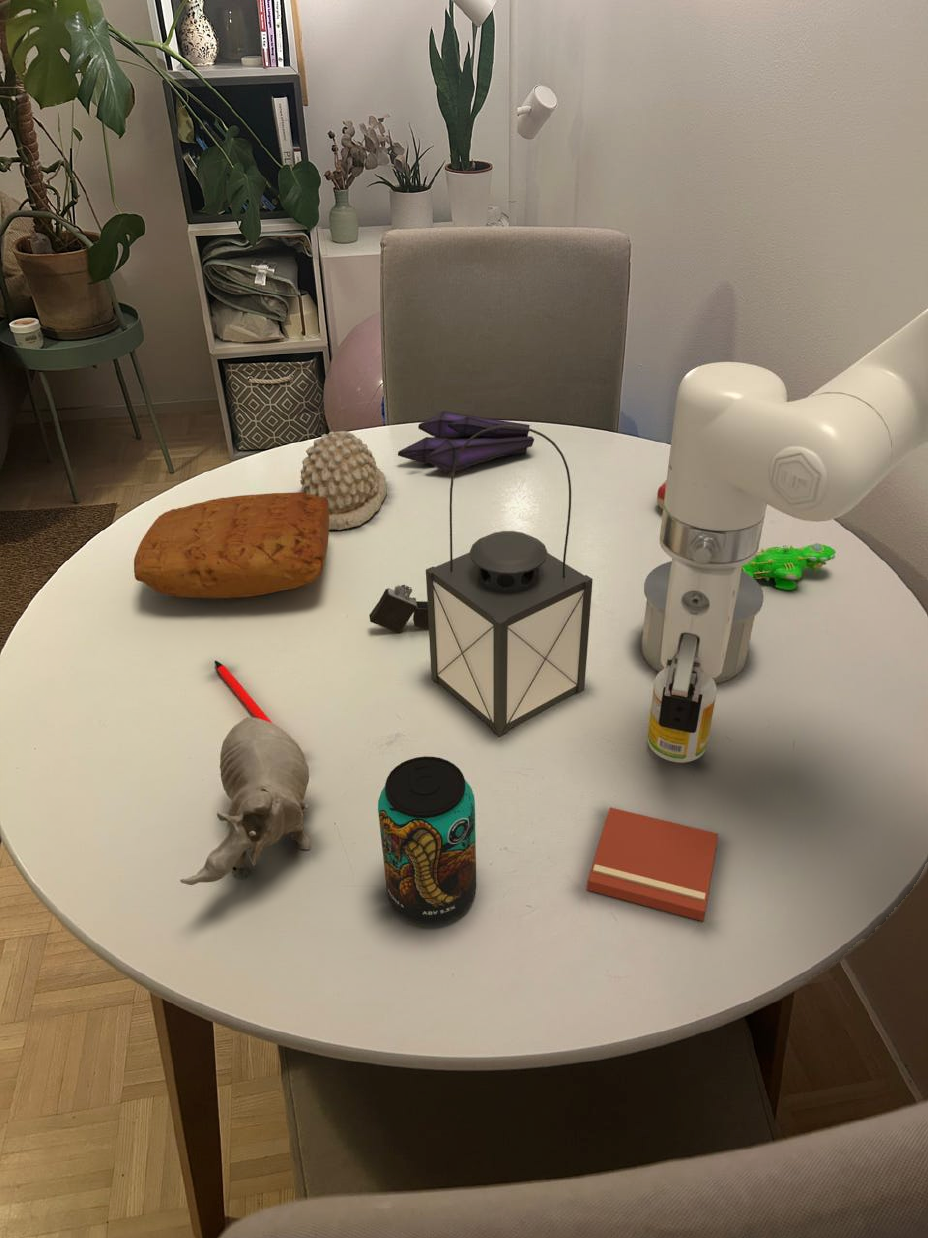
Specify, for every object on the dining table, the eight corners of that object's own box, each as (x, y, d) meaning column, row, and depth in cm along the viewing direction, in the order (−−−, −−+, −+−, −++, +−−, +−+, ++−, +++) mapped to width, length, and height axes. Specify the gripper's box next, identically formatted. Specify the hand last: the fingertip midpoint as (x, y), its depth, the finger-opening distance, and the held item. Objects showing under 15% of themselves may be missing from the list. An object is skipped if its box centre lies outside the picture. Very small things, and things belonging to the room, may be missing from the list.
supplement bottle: (690, 719, 86) (704, 637, 81) (716, 758, 82) (733, 674, 76) (637, 729, 85) (647, 647, 80) (661, 769, 81) (673, 685, 75)
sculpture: (395, 473, 130) (390, 406, 125) (373, 533, 117) (367, 462, 111) (313, 470, 132) (305, 404, 126) (282, 529, 118) (271, 459, 112)
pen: (297, 770, 83) (295, 761, 82) (211, 665, 95) (209, 657, 95) (306, 766, 83) (304, 757, 82) (219, 662, 96) (217, 654, 95)
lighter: (431, 635, 103) (454, 601, 101) (433, 646, 101) (457, 611, 99) (368, 611, 100) (391, 575, 97) (370, 622, 98) (393, 585, 96)
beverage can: (391, 935, 69) (379, 828, 62) (383, 862, 74) (372, 756, 67) (483, 922, 70) (482, 814, 62) (468, 850, 75) (466, 744, 68)
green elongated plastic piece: (842, 587, 105) (851, 555, 102) (692, 604, 103) (697, 572, 100) (816, 557, 110) (823, 526, 108) (672, 572, 108) (676, 541, 106)
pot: (750, 633, 98) (762, 574, 94) (739, 694, 90) (752, 633, 86) (651, 615, 101) (658, 557, 97) (633, 672, 93) (639, 613, 89)
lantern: (585, 690, 91) (606, 428, 75) (499, 738, 86) (500, 467, 69) (513, 637, 99) (518, 388, 82) (429, 679, 93) (416, 421, 77)
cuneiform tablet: (343, 539, 116) (336, 482, 111) (324, 618, 102) (316, 557, 97) (170, 541, 116) (157, 484, 112) (129, 619, 103) (111, 559, 98)
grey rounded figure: (333, 730, 83) (285, 691, 69) (333, 886, 79) (282, 879, 65) (250, 735, 84) (186, 698, 70) (246, 890, 80) (176, 884, 66)
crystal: (527, 398, 135) (393, 400, 132) (546, 438, 127) (404, 441, 123) (521, 440, 140) (391, 443, 136) (539, 481, 132) (402, 486, 128)
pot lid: (766, 577, 94) (774, 539, 92) (755, 642, 86) (764, 602, 83) (654, 559, 98) (658, 522, 95) (633, 620, 89) (637, 580, 86)
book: (716, 843, 75) (719, 831, 74) (703, 921, 69) (705, 909, 68) (608, 816, 78) (610, 804, 77) (586, 890, 72) (587, 878, 71)
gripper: (749, 596, 63) (713, 782, 73) (770, 485, 76) (736, 656, 86) (641, 578, 65) (621, 761, 76) (679, 472, 78) (657, 641, 89)
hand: (683, 703), depth 81 cm, fingers closed on supplement bottle, 5 cm apart
